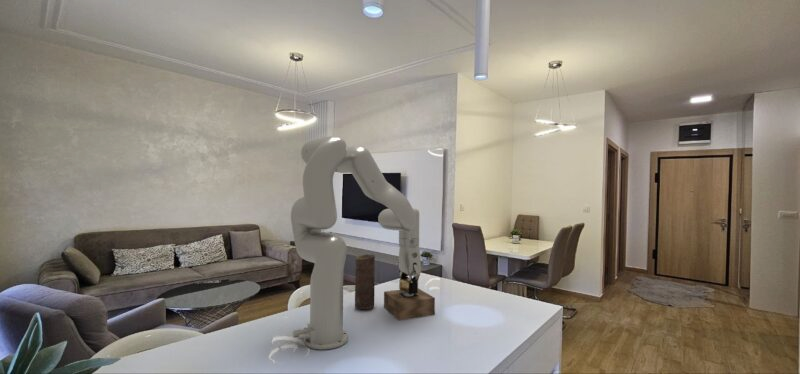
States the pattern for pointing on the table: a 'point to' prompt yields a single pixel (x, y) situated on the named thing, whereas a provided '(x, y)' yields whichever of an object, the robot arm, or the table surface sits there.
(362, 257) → the brown wooden cylinder
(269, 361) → the table surface
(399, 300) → the block
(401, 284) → the pin
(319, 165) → the robot arm
